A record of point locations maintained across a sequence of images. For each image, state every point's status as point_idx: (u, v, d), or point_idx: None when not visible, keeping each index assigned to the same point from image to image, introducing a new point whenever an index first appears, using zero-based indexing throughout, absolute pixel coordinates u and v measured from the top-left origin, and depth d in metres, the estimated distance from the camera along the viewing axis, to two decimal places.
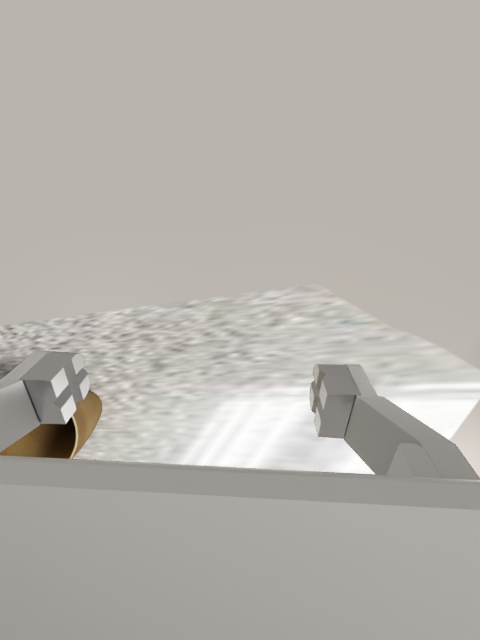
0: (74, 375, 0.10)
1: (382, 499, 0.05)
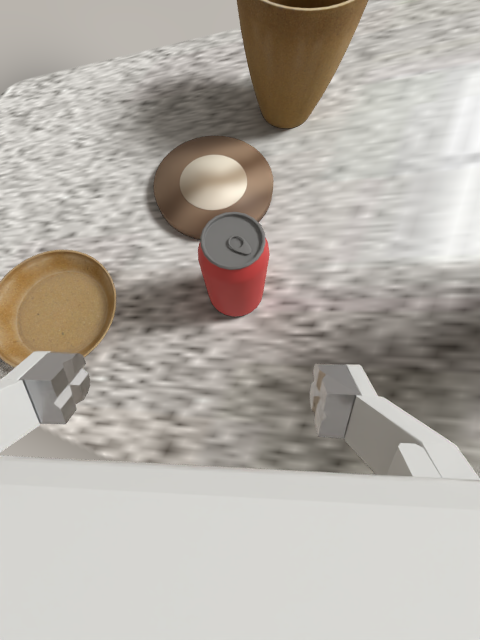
0: (74, 375, 0.10)
1: (382, 499, 0.05)
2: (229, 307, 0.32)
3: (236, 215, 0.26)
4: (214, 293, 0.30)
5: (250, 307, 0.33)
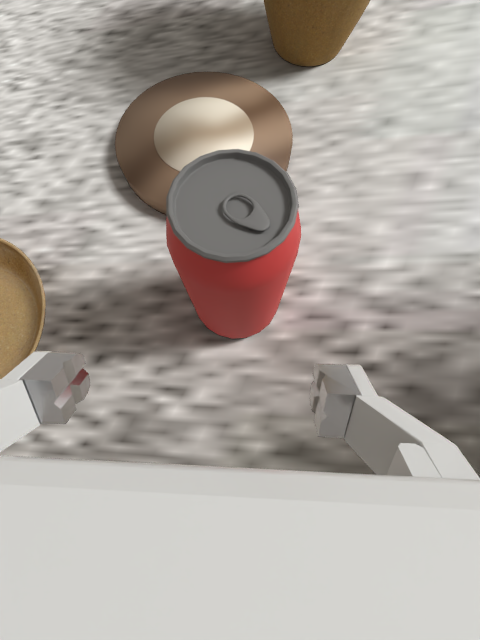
0: (74, 375, 0.10)
1: (382, 499, 0.05)
2: (226, 326, 0.19)
3: (240, 155, 0.13)
4: (199, 305, 0.17)
5: (260, 325, 0.21)
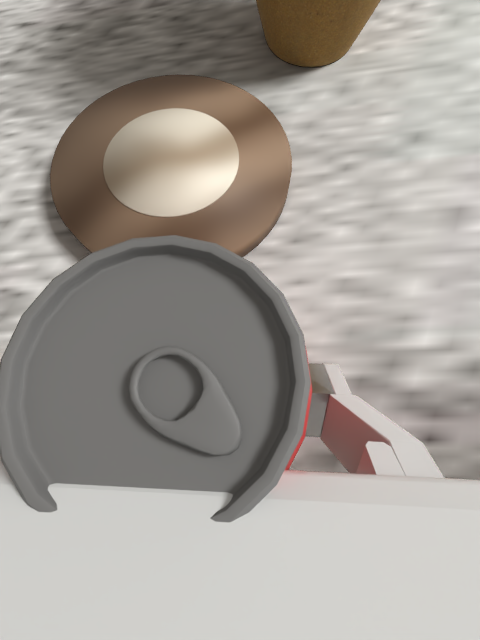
0: None
1: (382, 499, 0.05)
2: None
3: (179, 250, 0.06)
4: None
5: None
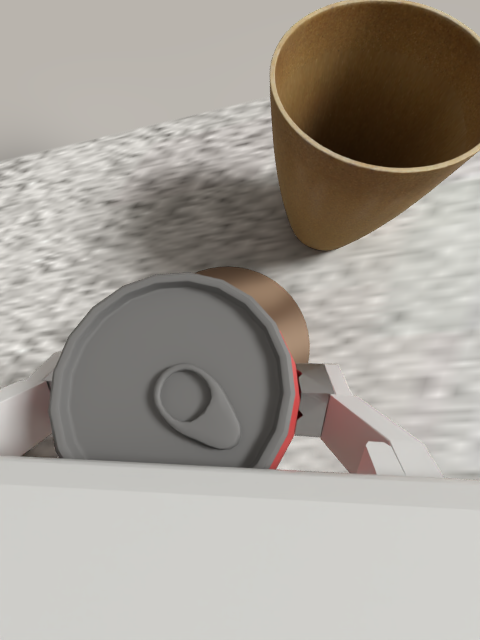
0: None
1: (382, 499, 0.05)
2: None
3: (192, 285, 0.08)
4: None
5: None
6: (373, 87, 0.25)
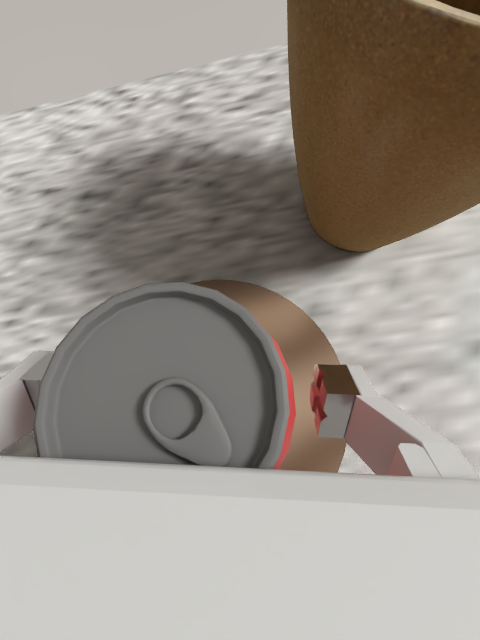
0: None
1: (382, 499, 0.05)
2: None
3: (186, 295, 0.07)
4: None
5: None
6: None
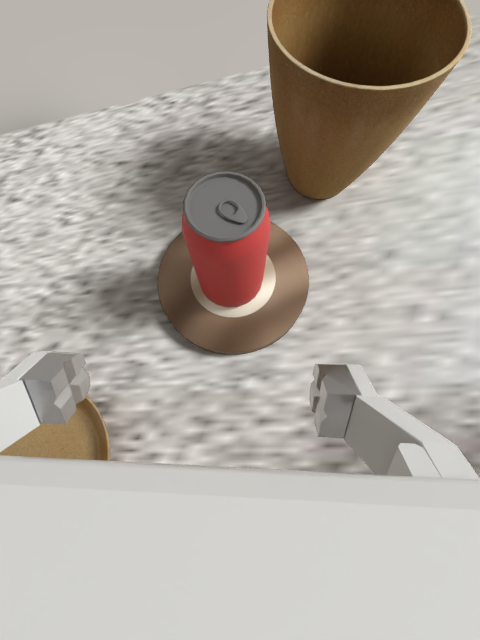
0: (74, 375, 0.10)
1: (382, 499, 0.05)
2: (221, 295, 0.27)
3: (230, 175, 0.21)
4: (203, 276, 0.25)
5: (247, 296, 0.28)
6: (358, 39, 0.28)
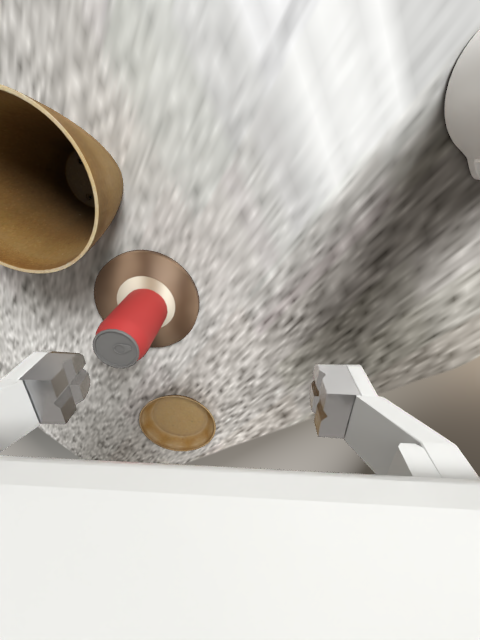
0: (74, 375, 0.10)
1: (382, 499, 0.05)
2: None
3: (99, 335, 0.35)
4: None
5: (164, 317, 0.44)
6: None
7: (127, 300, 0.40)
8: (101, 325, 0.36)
